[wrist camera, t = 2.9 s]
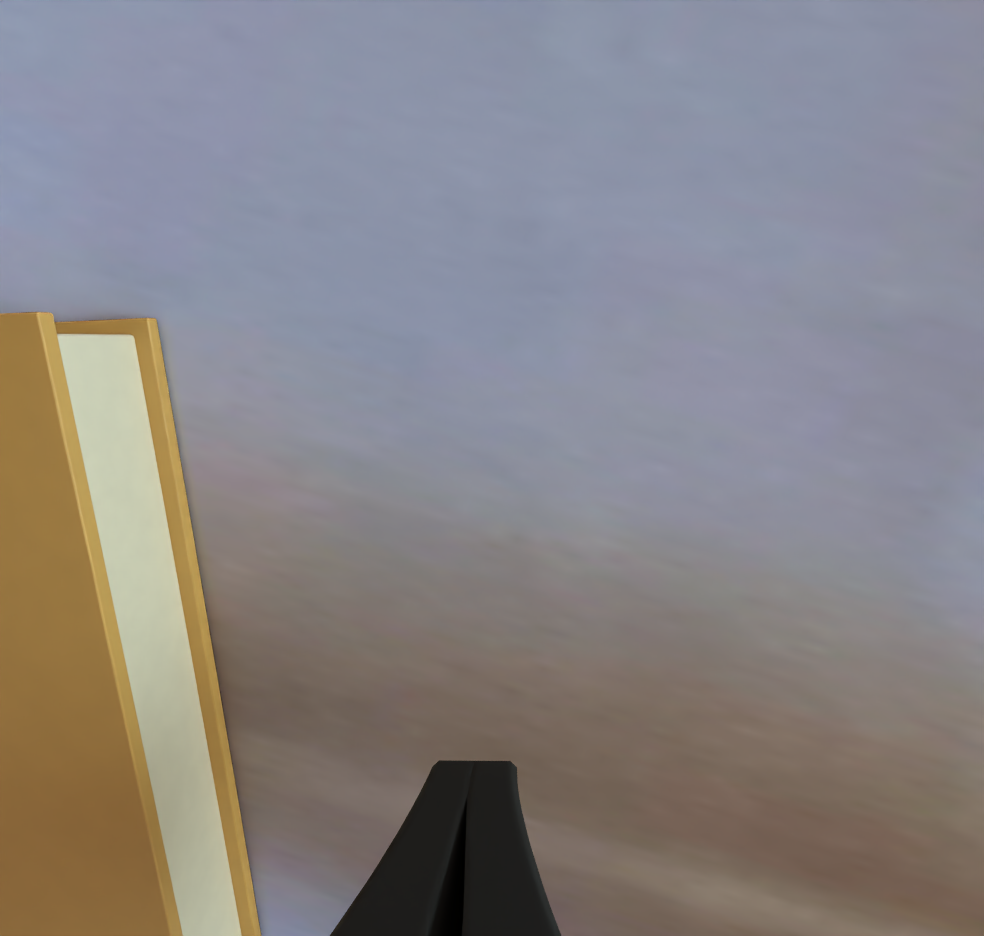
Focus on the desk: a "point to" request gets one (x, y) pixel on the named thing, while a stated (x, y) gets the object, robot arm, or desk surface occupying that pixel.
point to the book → (106, 652)
